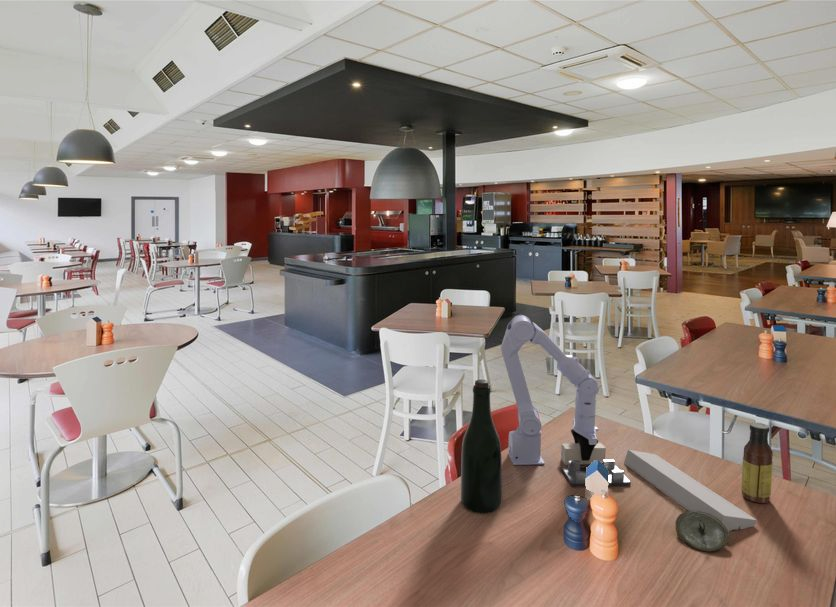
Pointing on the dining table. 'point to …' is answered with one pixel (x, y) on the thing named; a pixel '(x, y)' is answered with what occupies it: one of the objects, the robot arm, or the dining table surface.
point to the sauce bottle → (757, 465)
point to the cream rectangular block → (574, 453)
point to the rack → (578, 474)
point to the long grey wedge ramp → (687, 490)
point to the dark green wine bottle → (481, 456)
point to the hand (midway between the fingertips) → (583, 456)
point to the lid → (701, 531)
